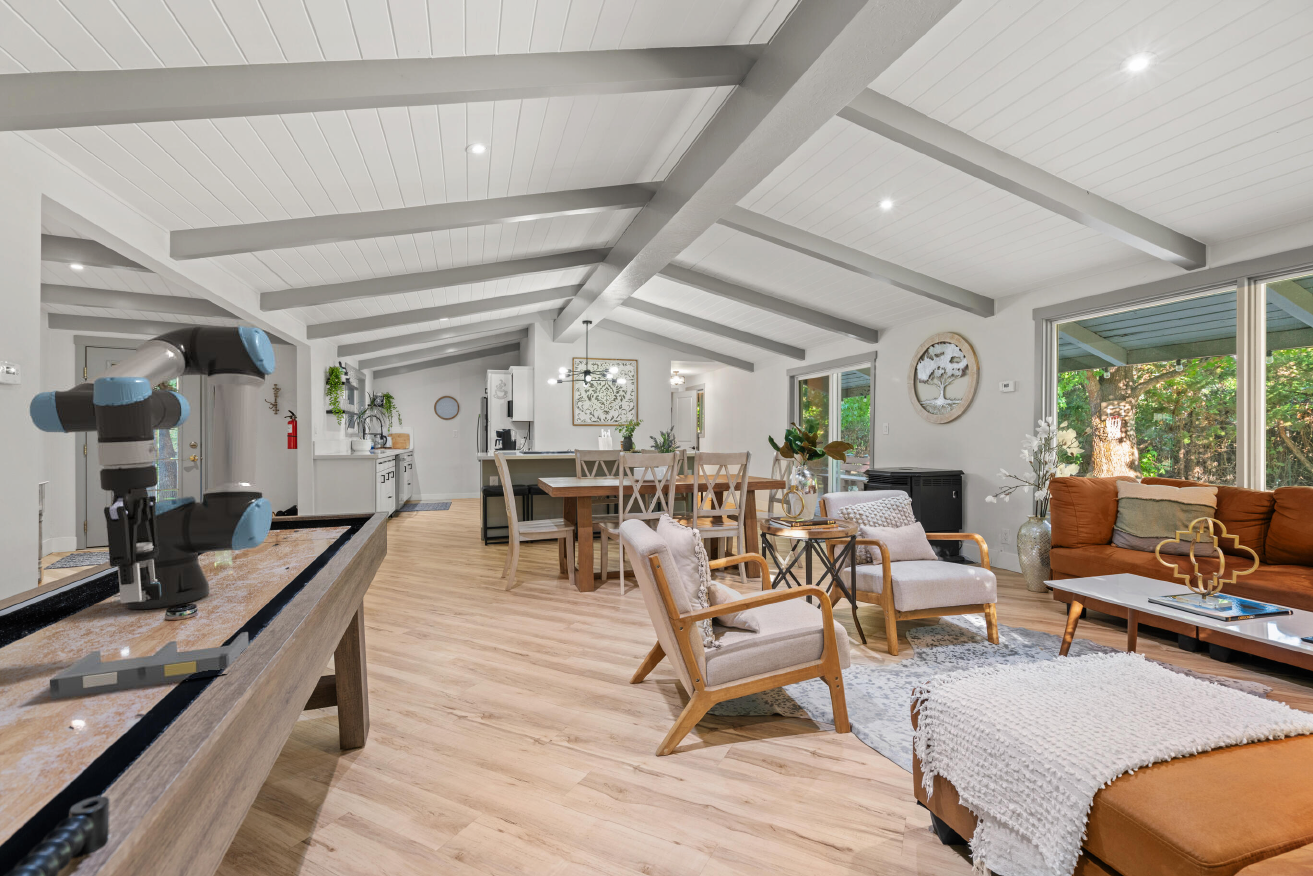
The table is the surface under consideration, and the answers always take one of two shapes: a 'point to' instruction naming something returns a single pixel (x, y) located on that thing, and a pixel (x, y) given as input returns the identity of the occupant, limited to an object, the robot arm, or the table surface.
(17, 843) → the table surface
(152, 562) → the push button
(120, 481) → the robot arm
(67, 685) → the gray divided compartment tray
